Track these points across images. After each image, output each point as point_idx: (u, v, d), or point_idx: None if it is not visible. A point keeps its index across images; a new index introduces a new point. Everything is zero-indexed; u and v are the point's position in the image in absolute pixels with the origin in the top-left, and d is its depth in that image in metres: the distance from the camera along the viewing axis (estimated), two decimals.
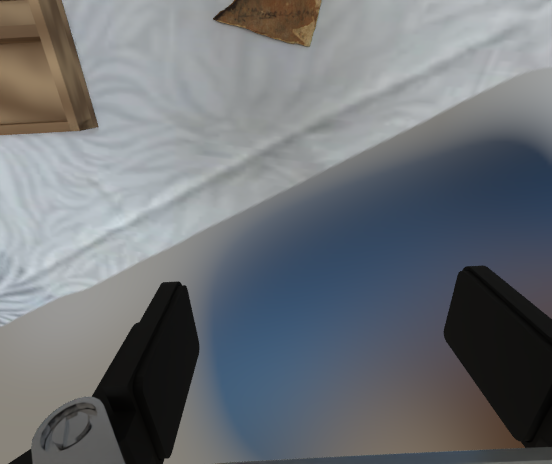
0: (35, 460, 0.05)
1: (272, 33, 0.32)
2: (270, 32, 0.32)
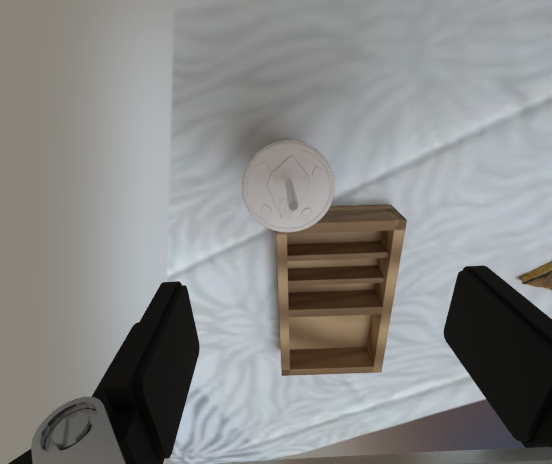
0: (35, 460, 0.05)
1: None
2: None
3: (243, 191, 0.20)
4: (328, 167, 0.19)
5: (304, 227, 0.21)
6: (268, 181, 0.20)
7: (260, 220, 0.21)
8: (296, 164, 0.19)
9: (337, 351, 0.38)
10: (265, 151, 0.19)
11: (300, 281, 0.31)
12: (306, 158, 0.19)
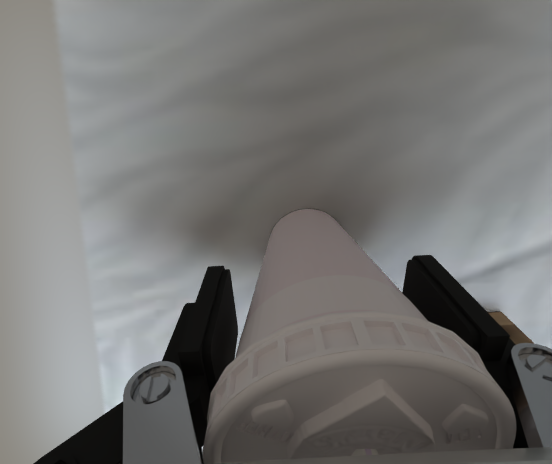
0: (130, 410, 0.06)
1: None
2: None
3: None
4: (508, 411, 0.05)
5: None
6: (292, 452, 0.06)
7: None
8: (397, 412, 0.05)
9: None
10: (282, 377, 0.05)
11: None
12: (433, 388, 0.05)
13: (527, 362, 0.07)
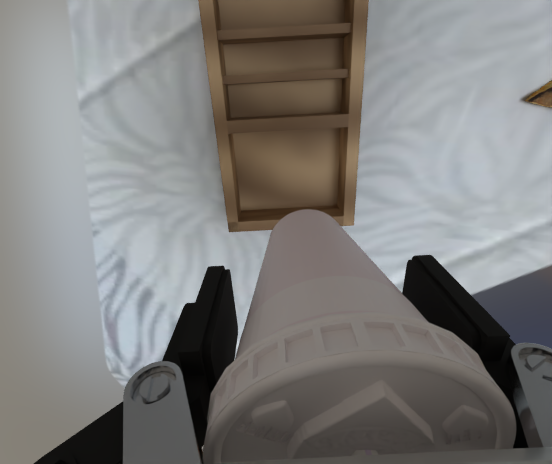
0: (130, 410, 0.06)
1: None
2: None
3: None
4: (508, 412, 0.05)
5: None
6: (292, 453, 0.06)
7: None
8: (397, 413, 0.05)
9: (300, 209, 0.30)
10: (282, 378, 0.05)
11: (239, 76, 0.23)
12: (433, 389, 0.05)
13: (527, 362, 0.07)
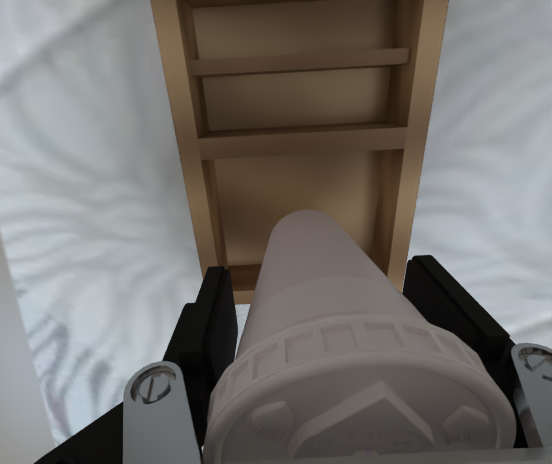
0: (130, 410, 0.06)
1: None
2: None
3: None
4: (508, 412, 0.05)
5: None
6: (292, 453, 0.06)
7: None
8: (397, 414, 0.05)
9: None
10: (282, 379, 0.05)
11: (217, 62, 0.13)
12: (433, 390, 0.05)
13: (527, 362, 0.07)
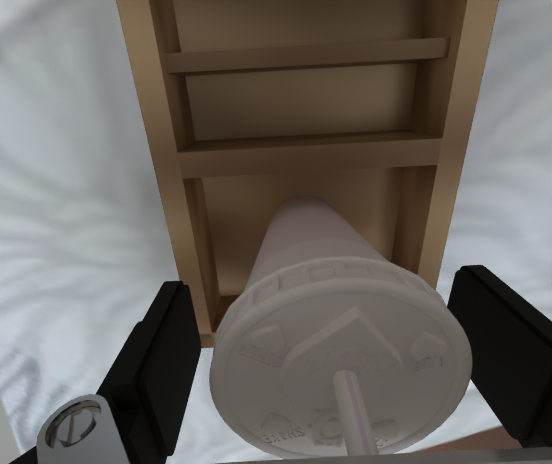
0: (40, 457, 0.05)
1: None
2: None
3: (213, 391, 0.07)
4: (462, 338, 0.07)
5: None
6: (283, 373, 0.07)
7: (262, 442, 0.08)
8: (369, 335, 0.06)
9: None
10: (275, 302, 0.06)
11: (202, 56, 0.10)
12: (399, 316, 0.06)
13: None
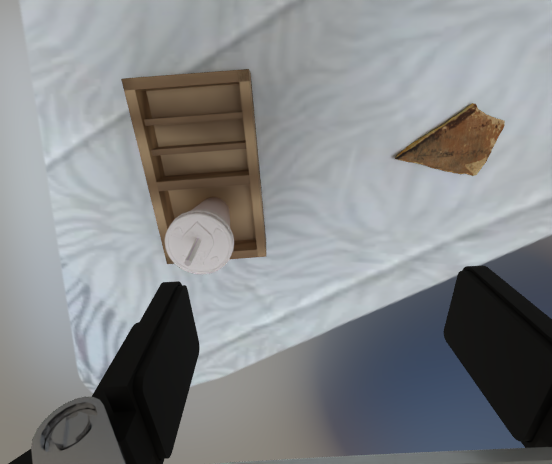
0: (35, 460, 0.05)
1: (446, 167, 0.35)
2: (444, 167, 0.35)
3: (166, 247, 0.28)
4: (224, 228, 0.27)
5: (214, 270, 0.29)
6: (183, 240, 0.27)
7: (181, 266, 0.29)
8: (201, 228, 0.27)
9: None
10: (178, 220, 0.27)
11: (163, 150, 0.31)
12: (208, 223, 0.27)
13: None
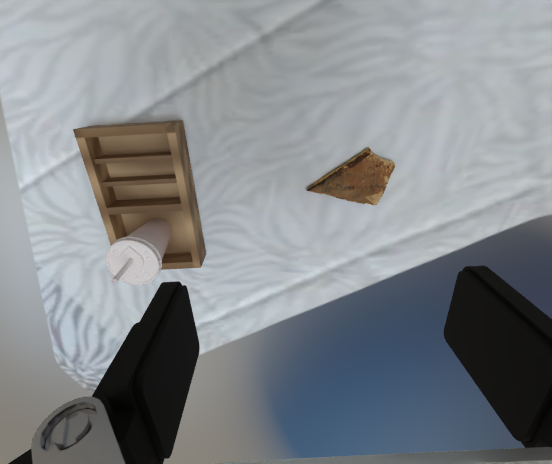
0: (35, 460, 0.05)
1: (350, 198, 0.43)
2: (348, 197, 0.43)
3: (107, 264, 0.36)
4: (151, 251, 0.35)
5: (147, 282, 0.37)
6: (119, 259, 0.35)
7: (121, 278, 0.37)
8: (132, 250, 0.35)
9: (171, 254, 0.46)
10: (114, 244, 0.34)
11: (111, 183, 0.39)
12: (138, 247, 0.35)
13: None
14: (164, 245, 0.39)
